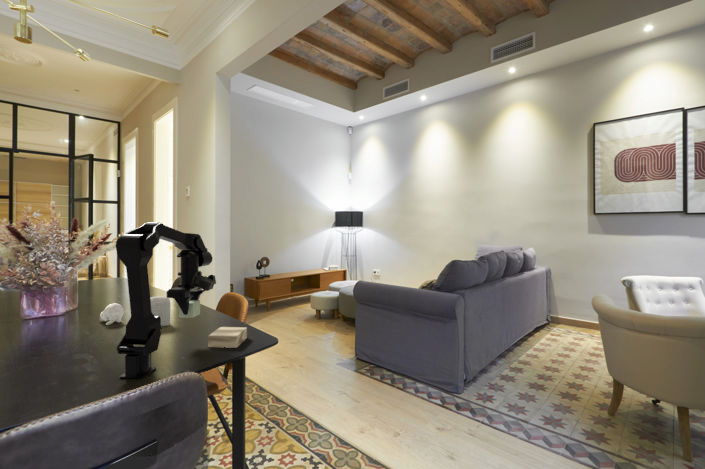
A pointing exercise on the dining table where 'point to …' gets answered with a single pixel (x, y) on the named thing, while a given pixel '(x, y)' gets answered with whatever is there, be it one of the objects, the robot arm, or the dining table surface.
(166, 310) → the photo printer
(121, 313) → the white animal figurine
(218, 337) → the oak block
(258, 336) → the dining table surface
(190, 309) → the sage cube
